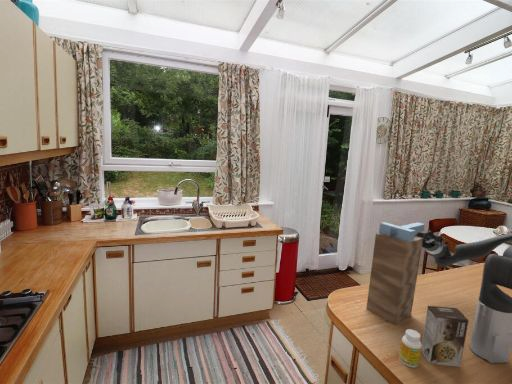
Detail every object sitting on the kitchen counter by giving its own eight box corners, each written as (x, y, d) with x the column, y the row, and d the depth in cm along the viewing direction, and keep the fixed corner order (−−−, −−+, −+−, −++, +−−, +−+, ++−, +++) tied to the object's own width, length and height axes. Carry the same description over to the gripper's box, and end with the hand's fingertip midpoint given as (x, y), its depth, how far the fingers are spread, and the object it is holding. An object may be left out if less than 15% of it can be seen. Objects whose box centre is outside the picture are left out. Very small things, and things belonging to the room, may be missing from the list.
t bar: (405, 226, 123) (406, 217, 122) (435, 234, 113) (437, 224, 113) (378, 232, 112) (380, 223, 111) (409, 242, 102) (411, 231, 101)
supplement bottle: (408, 369, 85) (412, 340, 84) (395, 356, 90) (399, 328, 89) (422, 366, 87) (427, 337, 85) (409, 353, 92) (413, 326, 90)
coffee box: (448, 352, 93) (457, 307, 90) (460, 367, 87) (470, 320, 84) (419, 349, 94) (427, 304, 91) (429, 364, 88) (437, 316, 85)
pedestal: (383, 300, 123) (392, 229, 117) (411, 314, 113) (423, 238, 108) (366, 308, 116) (375, 233, 111) (394, 324, 107) (406, 243, 101)
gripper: (417, 231, 133) (404, 217, 123) (451, 240, 121) (439, 226, 112) (411, 245, 132) (397, 233, 122) (445, 256, 120) (432, 243, 111)
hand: (417, 230), depth 117 cm, fingers open, 8 cm apart
